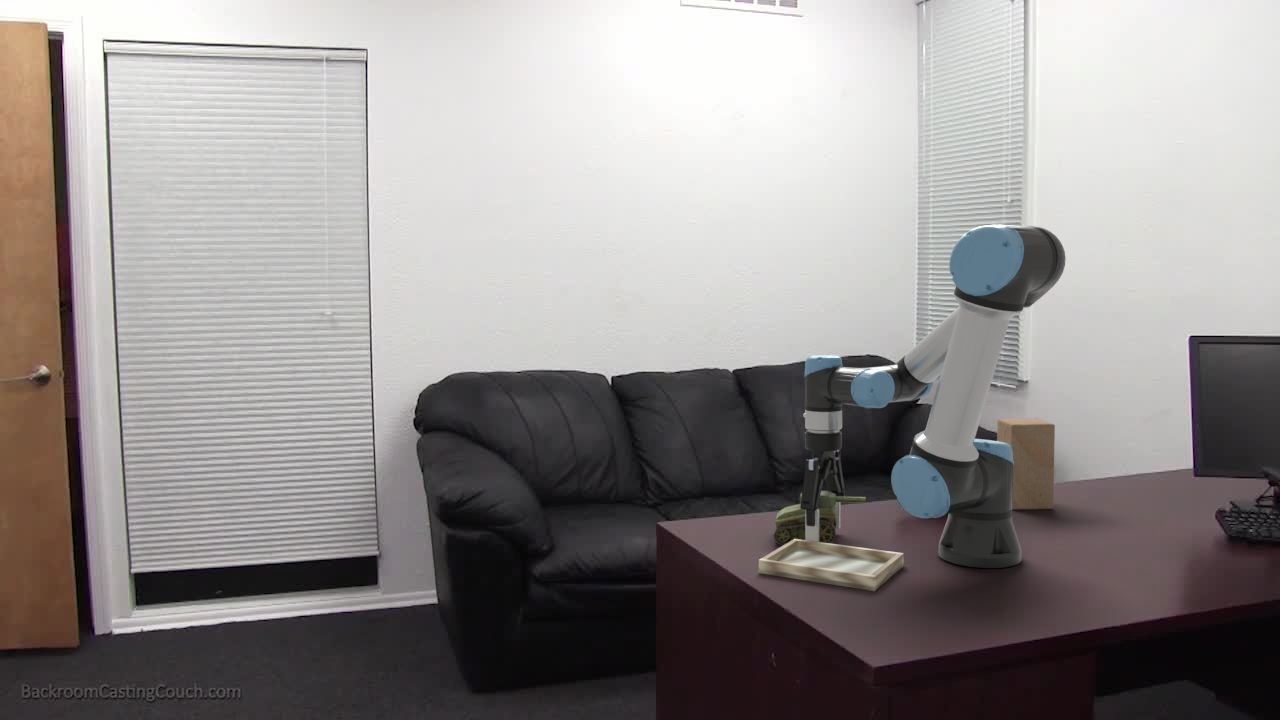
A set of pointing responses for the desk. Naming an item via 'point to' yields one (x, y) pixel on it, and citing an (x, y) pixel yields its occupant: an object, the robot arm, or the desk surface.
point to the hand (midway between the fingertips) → (823, 534)
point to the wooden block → (1030, 461)
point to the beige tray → (832, 564)
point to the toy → (793, 519)
